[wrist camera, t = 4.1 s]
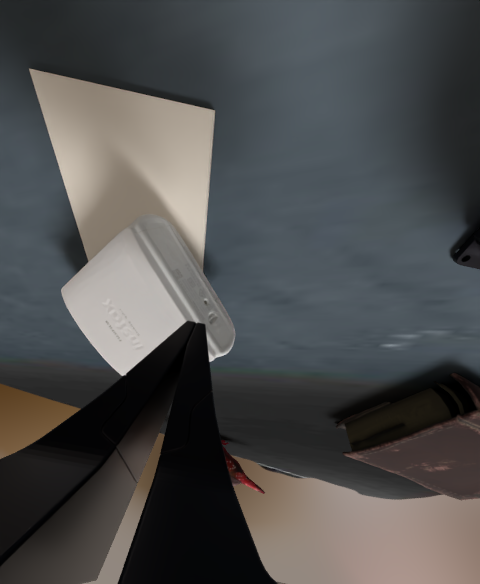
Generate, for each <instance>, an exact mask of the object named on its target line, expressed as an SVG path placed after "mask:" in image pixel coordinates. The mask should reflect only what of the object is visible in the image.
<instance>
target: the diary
mask: <svg viewBox="0 0 480 584" xmlns="http://www.w3.org/2000/svg"><path fill="white" fill-rule="evenodd" d="M450 376H452V377H453V378H454V379H455V380H457V381H458V382H459V383H460V384H461V385H462V386H463V387H464V389H465V390H466V391H467V392H468V394H469V395H470V397H471V399H470V398H468V397H466V396H464V395H462V394H460V393H459V392H457V391H455V390H453V389H451V388H449V387H447V386H445V385H443V384H439V383H437V382H435V381H434V382H435V383H437V384H439V386H440V387H442V388H443V389H444V390H446V391H447V392H449V393H450V395H451V396H452V397H453V399H452V398H450V397H448V396H446V395H444V394H442V393H440V392H438V391H436V390H434V389H432V388H429V389H427V390H424V391H422V392H419V393H417V394H414V395H412V396H410V397H407V398H405V399H402V400H400V401H397V402H395V403H393V404H392V403H390V402H385V403H382V404H380V405H377V406H375V407H373V408H370V409H368V410H366V411H363V412H361V413H358V414H356V415H353V416H351V417H349V418H347V419H344V420H342V421H341V422H339V424H338V425H337V426H336V428H337V429H338V428H343V429H346V431H347V434H348V438H349V441H350V445H351V448H352V451H351V452H343V455H345V456H348V457H351V458H354V459H356V460H359V461H362V462H365V463H368V464H370V465H373V466H376V467H379V468H381V469H384V470H387V471H390V472H393V473H395V474H398V475H401V476H404V477H406V478H408V479H410V480H412V481H414V482H416V483H418V484H420V485H423V486H425V487H427V488H429V489H431V490H433V491H436V492H438V493H441V494H444V495H447V496H450V497H453V498H456V499H459V500H466V499H477V498H480V387H478V386H477V385H475V384H474V383H472V382H470V381H468V380H467V379H465V378H463V377H462V376H460V375H458V374H456V373H452V374H451V375H450Z"/></svg>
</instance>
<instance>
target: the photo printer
mask: <svg viewBox="0 0 480 584" xmlns="http://www.w3.org/2000/svg"><path fill="white" fill-rule="evenodd" d="M61 292H62V296H63V299H64V302H65V304H66V306H67V308H68V310H69V312H70V313H71V315H72V317H73V318H74V320H75V321H76V323H77V324H78V326H79V327H80V329H81V330H82V332H83V333H84V335H85V336H86V337H87V338H88V340H89V341H90V342H91V344H92V345H93V346H94V347H95V349H96V350H97V351H98V352H99V353H100V355H101V356H102V357H103V358H104V359H105V360H106V361H107V362H108V363H109V364H110V365H111V366H112V367H113V368H114V369H115V370H116V371H117V372H118V373H119V374H121V375H122V376H124V375H126V373H127V372H128V371H129V370H131V369H132V368H133V367H134V366H135V365H136V364H138V363H139V362H140V361H141V360H142V359H143V358H145V357H146V356H147V355H148V354H149V353H150V352H151V351H153V350H154V349H155V348H156V347H157V346H158V345H160V344H161V343H162V342H163V341H164V340H165V339H166V338H168V337H169V336H170V335H171V334H172V333H173V332H175V331H176V330H177V329H178V328H179V327H180V326H182V325H183V324H184V323H185V322H186V321H193V322H196V323H197V322H198V323H203V324H205V325H206V334H207V343H208V353H209V362H210V361H213V360H214V359H215V358H216V357H220V356H223V355H225V354H227V353H228V352H229V351H230V350H231V348H232V346H233V344H234V340H235V330H234V326H233V323H232V321H231V319H230V317H229V315H228V313H227V312H226V310H225V308H224V306H223V305H222V303H221V301H220V299H219V298H218V297H217V295H216V293H215V292H214V290H213V288H212V287H211V285H210V283H209V282H208V280H207V278H206V277H205V275H204V273H203V272H202V270H201V268H200V267H199V265H198V264H197V262H196V260H195V259H194V257H193V255H192V254H191V252H190V250H189V249H188V247H187V246H186V244H185V242H184V241H183V239H182V238H181V236H180V235H179V233H178V232H177V230H176V229H175V228H174V226H173V225H172V224H171V223H170V222H169V221H167V220H166V219H165V218H163V217H161V216H158V215H153V214H145V215H141V216H139V217H138V218H137V219H136V220H135V221H134V222H132V223H131V224H130V225H129V226H128V227H127V228H125V229H124V230H122V231H121V232H120V233H119V234H117V235H116V236H115V237H114V238H113V239H112V240H111V241H110V242H109V243H108V244H107V245H106V246H105V247H104V248H103V249H102V250H101V251H100V252H99V253H98V254H97V255H95V256H94V257H93V258H92V259H91V260H90V261H89V262H88V263H87V264H86V265H85V266H84V267H83V268H82V269H81V270H80V271H79V272H78V273H77V274H76V275H75V276H74V277H73V278H72V279H71V280H70V281H69V282H68V283H67V284H66V285H65V286H64V287H63V288H62V289H61Z"/></svg>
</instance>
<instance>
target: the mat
mask: <svg viewBox="0 0 480 584" xmlns="http://www.w3.org/2000/svg"><path fill="white" fill-rule="evenodd" d="M29 70H30V74H31V77H32V80H33V83H34V87H35V90H36V93H37V96H38V100H39V103H40V106H41V109H42V113H43V116H44V119H45V122H46V126H47V129H48V132H49V135H50V139H51V142H52V145H53V148H54V151H55V155H56V158H57V161H58V164H59V168H60V171H61V174H62V177H63V181H64V184H65V187H66V190H67V194H68V197H69V200H70V203H71V207H72V210H73V213H74V216H75V220H76V223H77V226H78V229H79V233H80V236H81V239H82V242H83V246H84V249H85V252H86V255H87V259H88V262H89V261H90V260H91V259H92V258H93V257H94V256H95V255H97V254H98V253H99V252H100V251H101V250H102V249H103V248H104V247H105V246H106V245H107V244H108V243H109V242H110V241H111V240H112V239H113V238H114V237H115V236H116V235H117V234H119V233H120V232H121V231H122V230H124V229H125V228H127V227H128V226H129V225H130V224H131V223H132V222H134V221H135V220H136V219H137V218H138V217H139V216H141V215H145V214H153V215H158V216H161V217H163V218H165V219H166V220H167V221H169V222H170V223H171V224H172V225H173V226H174V228H175V229H176V230H177V232H178V233H179V235H180V236H181V238H182V239H183V241H184V242H185V244H186V246H187V247H188V249H189V250H190V252H191V254H192V255H193V257H194V259H195V260H196V262H197V264H198V265H199V267H200V268H201V270H202V272H203V261H204V248H205V235H206V223H207V210H208V197H209V184H210V172H211V159H212V146H213V133H214V120H215V111H214V110H211V109H206V108H202V107H197V106H193V105H188V104H184V103H180V102H175V101H171V100H166V99H162V98H157V97H153V96H149V95H144V94H140V93H135V92H131V91H126V90H122V89H118V88H113V87H109V86H104V85H100V84H95V83H91V82H87V81H82V80H78V79H73V78H69V77H65V76H60V75H56V74H51V73H47V72H42V71H38V70H34V69H29Z"/></svg>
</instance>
